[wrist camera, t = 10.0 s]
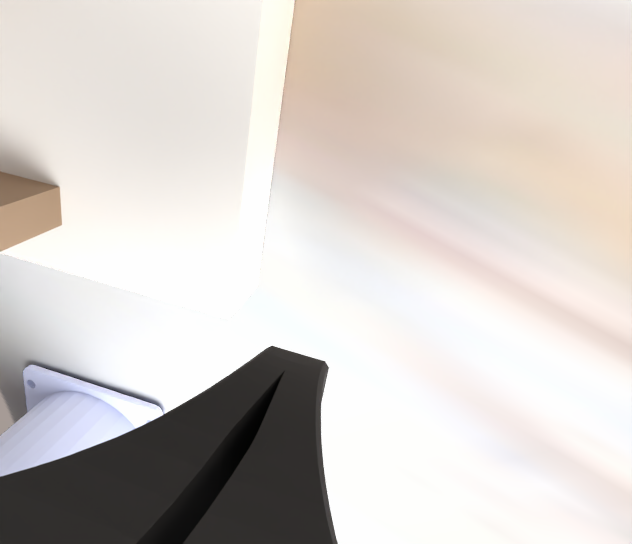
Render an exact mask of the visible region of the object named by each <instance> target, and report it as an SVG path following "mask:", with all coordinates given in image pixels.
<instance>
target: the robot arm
mask: <svg viewBox="0 0 632 544" xmlns="http://www.w3.org/2000/svg"><path fill="white" fill-rule="evenodd" d="M328 368H329V367H328V366H327V364H326V363H325V361H321V360H318V359H314V358H311V357H308V356H304V355H301V354H298V353H294V352H291V351H287V350H284V349H281V348H277V347H274V346H271V347H269V348H267V349H265V350H264V351H262V352H261V353H260V354H258V355H257V356H256V357H254V358H253V359H251V360H250V361H249V362H247V363H246V364H244V365H243V366H242V367H240V368H239V369H237V370H236V371H234V372H233V373H232V374H230V375H229V376H227V377H226V378H224V379H222V380H221V381H219V382H218V383H216V384H215V385H213V386H212V387H210V388H209V389H207V390H205V391H204V392H202V393H201V394H199V395H197V396H196V397H194V398H192V399H190V400H189V401H187V402H185V403H183V404H182V405H180V406H178V407H176V408H175V409H173V410H171V411H169V412H168V413H166V414H164V415H163V411H162V410H161V408H160V407H159V406H157V405H155V404H152V403H149V402H146V401H142V400H139V399H136V398H133V397H130V396H127V395H124V394H121V393H118V392H115V391H112V390H109V389H106V388H103V387H100V386H97V385H94V384H91V383H88V382H85V381H82V380H79V379H76V378H72V377H69V376H66V375H63V374H60V373H57V372H54V371H51V370H48V369H45V368H42V367H39V366H36V365H29V366H28V367H26V368H25V369H24V370H23V379H24V388H25V397H26V406H27V413H26V414H25V415H24V416H23V417H21V418H20V419H19V420H18V421H17V422H15V423H14V424H13V425H12V426H11V427H9V428H8V429H7V430H6V431H5V432H3V433H2V434H1V435H0V544H337V540H336V536H335V532H334V527H333V522H332V517H331V512H330V507H329V501H328V495H327V490H326V483H325V475H324V467H323V457H322V445H321V401H322V396H323V392H324V387H325V382H326V378H327V373H328Z"/></svg>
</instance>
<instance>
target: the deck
mask: <svg viewBox="0 0 632 544" xmlns="http://www.w3.org/2000/svg"><path fill="white" fill-rule="evenodd" d="M294 4H295V0H0V253H1V254H4V255H8V256H11V257H15V258H18V259H22V260H25V261H28V262H32V263H35V264H39V265H42V266H46V267H49V268H52V269H56V270H59V271H63V272H66V273H70V274H73V275H77V276H80V277H83V278H87V279H90V280H94V281H97V282H101V283H104V284H108V285H111V286H114V287H118V288H121V289H125V290H128V291H132V292H135V293H138V294H142V295H145V296H149V297H152V298H156V299H159V300H163V301H166V302H169V303H173V304H176V305H180V306H183V307H187V308H190V309H194V310H197V311H200V312H204V313H207V314H211V315H214V316H218V317H221V318H225V319H228V320H230V319H231V317H232V316H233V315H234V314H235V313H236V312H237V310H238V309H239V308H240V307H241V306H242V305H243V303H244V302H245V301H246V300H247V299H248V298H249V296H250V295H251V294H252V293H253V292H254V291H255V290H256V288H257V287H258V282H259V275H260V267H261V259H262V252H263V244H264V236H265V228H266V221H267V213H268V205H269V197H270V190H271V182H272V174H273V166H274V159H275V151H276V143H277V136H278V128H279V120H280V112H281V105H282V97H283V89H284V81H285V74H286V66H287V58H288V50H289V43H290V35H291V27H292V19H293V12H294Z"/></svg>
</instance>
